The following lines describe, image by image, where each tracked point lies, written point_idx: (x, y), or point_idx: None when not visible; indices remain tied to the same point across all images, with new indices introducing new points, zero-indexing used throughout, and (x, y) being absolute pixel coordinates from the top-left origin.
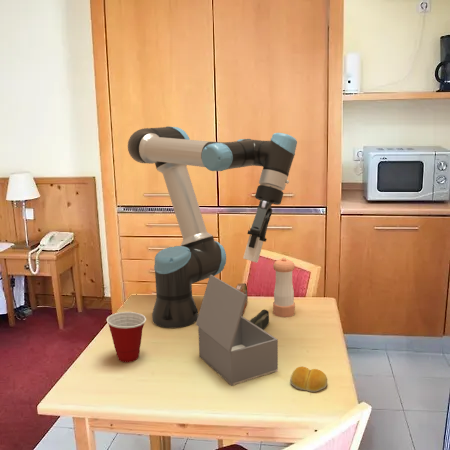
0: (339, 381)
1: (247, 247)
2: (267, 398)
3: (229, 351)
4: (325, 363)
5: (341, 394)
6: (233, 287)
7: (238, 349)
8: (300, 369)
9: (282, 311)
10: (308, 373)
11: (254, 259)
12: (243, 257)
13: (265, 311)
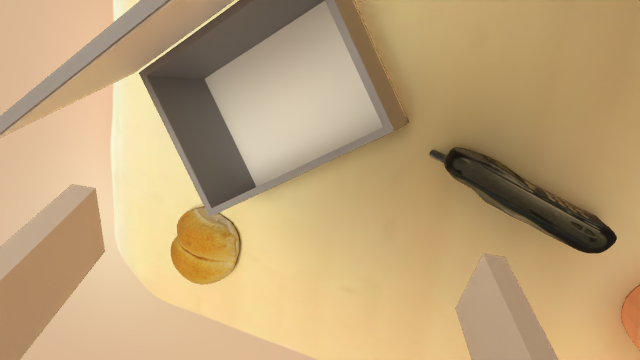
0: (215, 303)
1: (2, 257)
2: (160, 149)
3: (145, 69)
4: (285, 306)
5: (175, 288)
6: (55, 88)
7: (155, 96)
8: (191, 238)
9: (635, 310)
10: (188, 251)
11: (470, 303)
12: (68, 189)
13: (580, 241)
